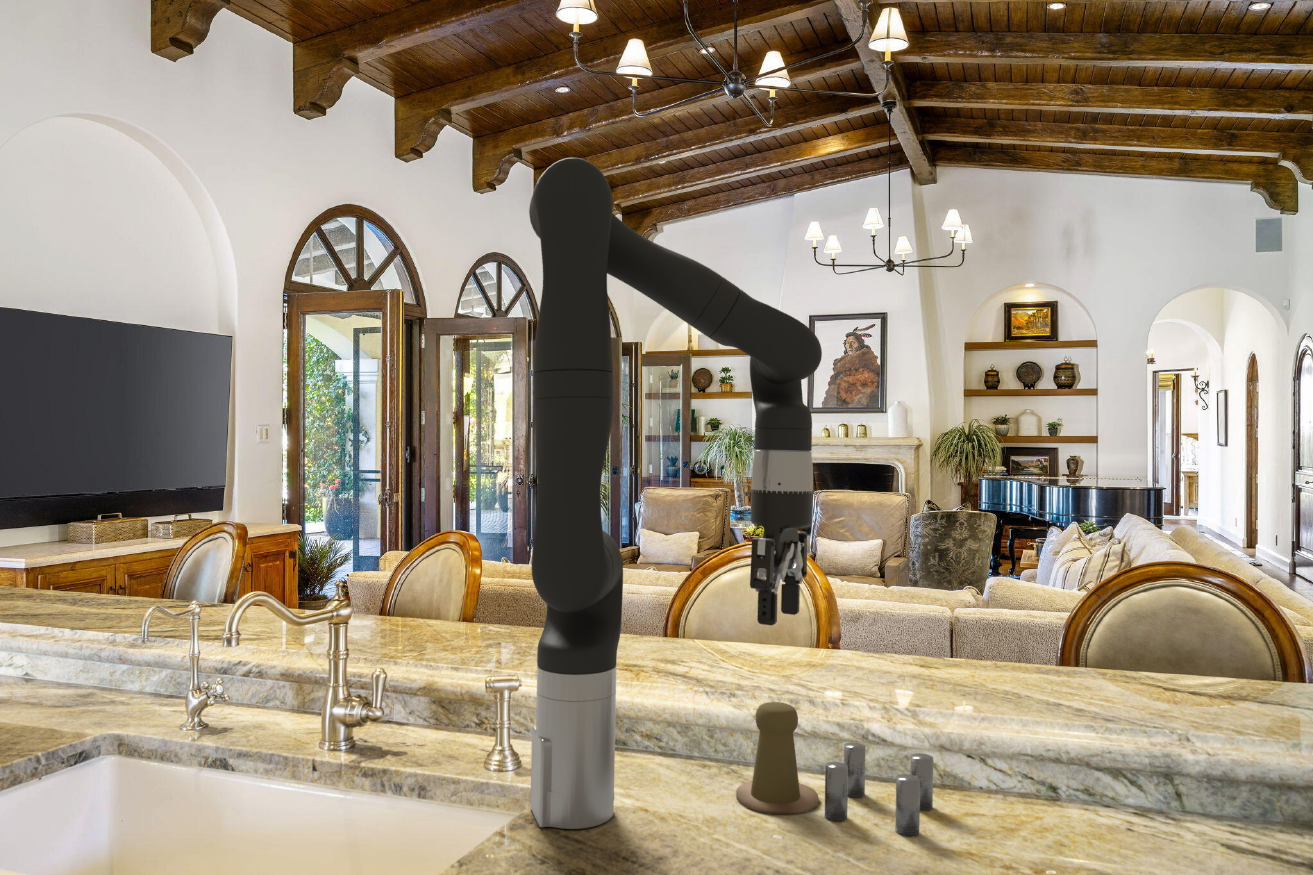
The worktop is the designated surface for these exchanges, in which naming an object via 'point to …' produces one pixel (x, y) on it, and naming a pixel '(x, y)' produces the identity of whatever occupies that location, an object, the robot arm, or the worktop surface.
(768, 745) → the brown tapered cylinder
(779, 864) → the worktop surface
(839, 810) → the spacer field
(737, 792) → the smooth stone
